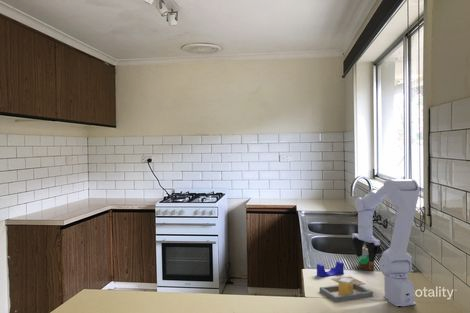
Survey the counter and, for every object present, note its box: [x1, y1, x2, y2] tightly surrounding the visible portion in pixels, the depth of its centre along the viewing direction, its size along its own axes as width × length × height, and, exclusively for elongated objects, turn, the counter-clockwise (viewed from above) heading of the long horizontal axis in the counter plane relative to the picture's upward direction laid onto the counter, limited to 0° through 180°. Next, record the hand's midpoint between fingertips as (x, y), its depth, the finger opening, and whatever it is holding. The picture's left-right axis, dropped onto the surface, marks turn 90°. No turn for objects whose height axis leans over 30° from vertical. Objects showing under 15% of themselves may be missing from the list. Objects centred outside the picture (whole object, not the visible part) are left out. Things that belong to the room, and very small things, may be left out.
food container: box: [357, 244, 375, 272], centre depth 159 cm, size 12×6×10 cm, turn 178°
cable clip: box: [316, 260, 345, 278], centre depth 148 cm, size 12×4×6 cm, turn 112°
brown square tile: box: [331, 275, 366, 286], centre depth 138 cm, size 10×10×1 cm
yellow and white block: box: [338, 276, 354, 296], centre depth 125 cm, size 4×5×6 cm
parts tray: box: [319, 283, 374, 303], centre depth 125 cm, size 10×16×2 cm, turn 109°
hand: (365, 258), depth 142 cm, fingers open, 7 cm apart
